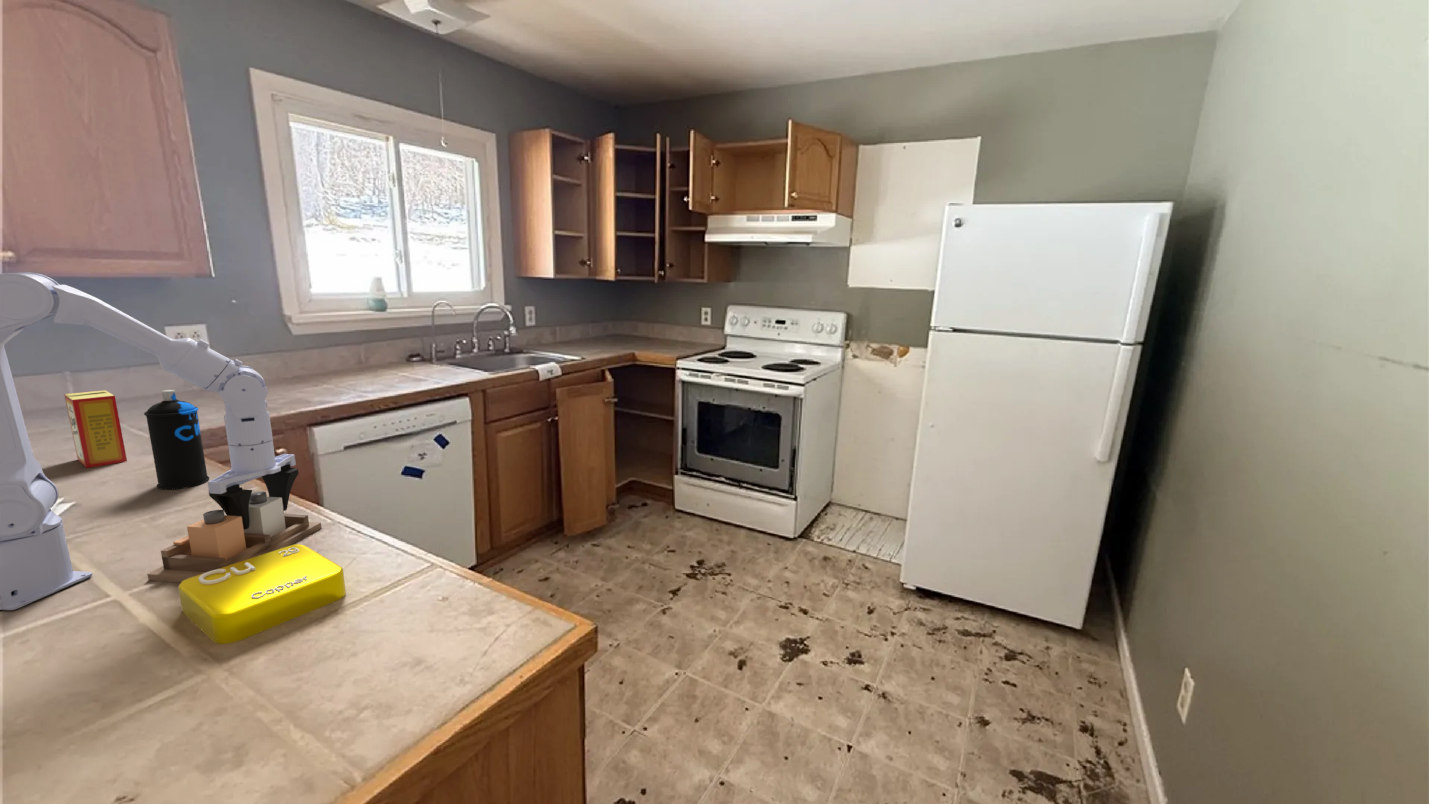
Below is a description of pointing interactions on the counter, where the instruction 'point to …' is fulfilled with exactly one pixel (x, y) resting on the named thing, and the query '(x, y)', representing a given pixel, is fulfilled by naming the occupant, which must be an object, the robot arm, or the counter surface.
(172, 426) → the aerosol can
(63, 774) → the counter surface
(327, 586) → the element tile
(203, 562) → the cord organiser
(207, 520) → the orange plug
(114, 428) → the baking soda box
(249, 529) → the grey plug
